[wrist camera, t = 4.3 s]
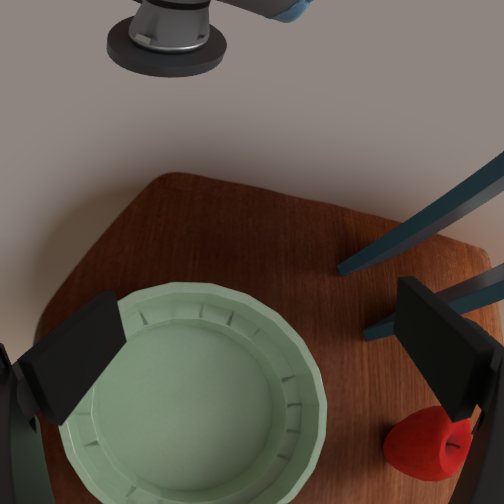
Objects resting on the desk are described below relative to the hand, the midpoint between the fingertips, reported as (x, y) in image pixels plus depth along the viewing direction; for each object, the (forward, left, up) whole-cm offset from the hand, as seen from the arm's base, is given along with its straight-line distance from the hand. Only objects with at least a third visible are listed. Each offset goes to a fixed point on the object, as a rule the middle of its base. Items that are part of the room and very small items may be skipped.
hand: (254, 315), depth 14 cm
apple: (+20, +18, -17) cm, 32 cm away
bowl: (+5, -3, -17) cm, 18 cm away
